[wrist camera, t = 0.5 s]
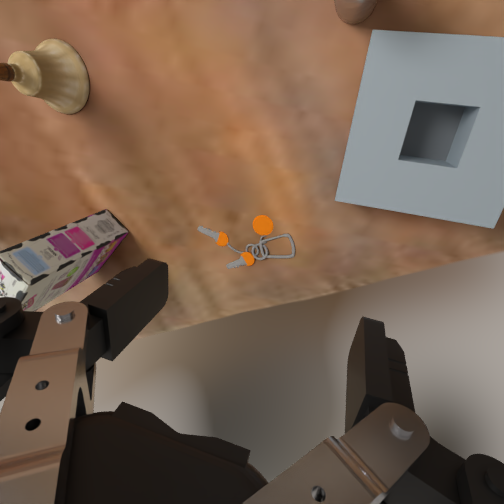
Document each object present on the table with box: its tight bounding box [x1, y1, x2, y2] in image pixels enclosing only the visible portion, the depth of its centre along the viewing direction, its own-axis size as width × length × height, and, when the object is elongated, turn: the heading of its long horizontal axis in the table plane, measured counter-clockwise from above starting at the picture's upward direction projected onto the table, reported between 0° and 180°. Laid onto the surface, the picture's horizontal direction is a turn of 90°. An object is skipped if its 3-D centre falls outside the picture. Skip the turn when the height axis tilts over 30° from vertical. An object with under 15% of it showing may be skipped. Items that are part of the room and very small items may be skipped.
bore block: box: [335, 30, 504, 229], centre depth 29 cm, size 14×14×5 cm
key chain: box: [198, 215, 295, 269], centre depth 42 cm, size 13×7×1 cm, turn 104°
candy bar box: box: [0, 209, 128, 312], centre depth 42 cm, size 11×5×16 cm, turn 137°
